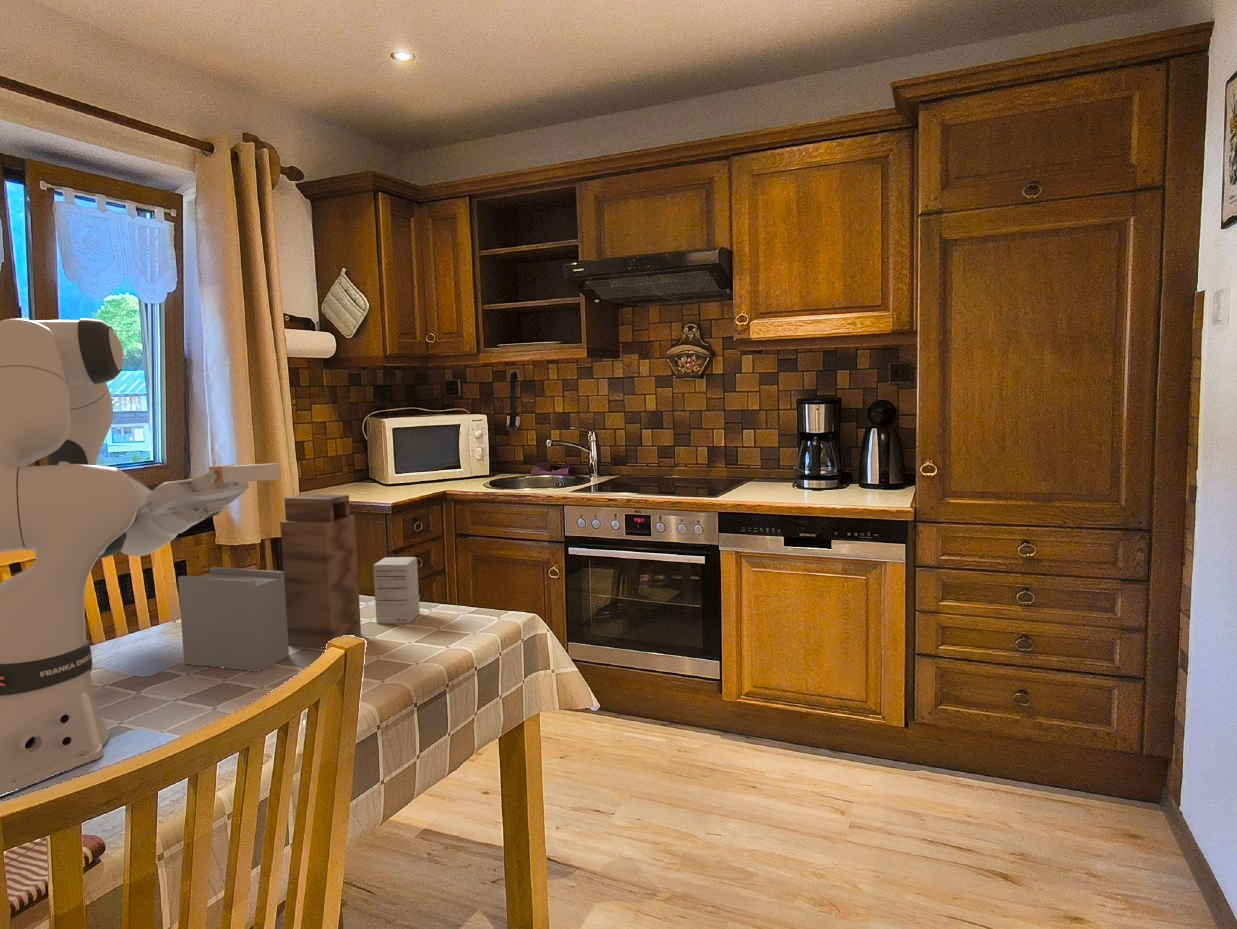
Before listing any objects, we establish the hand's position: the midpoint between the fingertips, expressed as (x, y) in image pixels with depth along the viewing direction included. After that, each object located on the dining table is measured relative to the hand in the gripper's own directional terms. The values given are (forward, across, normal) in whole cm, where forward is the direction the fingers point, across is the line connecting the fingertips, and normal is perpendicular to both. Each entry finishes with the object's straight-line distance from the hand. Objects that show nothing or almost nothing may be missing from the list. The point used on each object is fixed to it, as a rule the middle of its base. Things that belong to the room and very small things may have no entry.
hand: (225, 472), depth 150 cm
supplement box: (+4, +20, +41) cm, 46 cm away
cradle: (-8, -10, +34) cm, 36 cm away
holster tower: (-1, +4, +38) cm, 38 cm away
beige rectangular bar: (+3, 0, +4) cm, 5 cm away
